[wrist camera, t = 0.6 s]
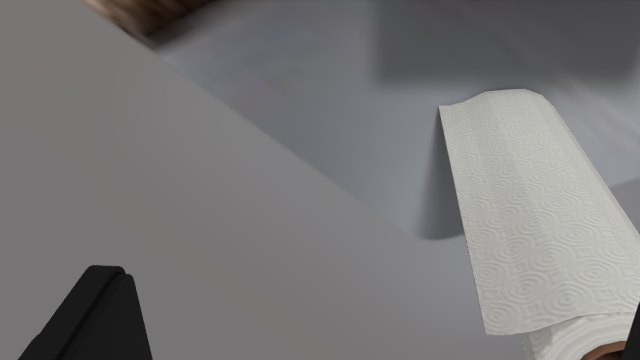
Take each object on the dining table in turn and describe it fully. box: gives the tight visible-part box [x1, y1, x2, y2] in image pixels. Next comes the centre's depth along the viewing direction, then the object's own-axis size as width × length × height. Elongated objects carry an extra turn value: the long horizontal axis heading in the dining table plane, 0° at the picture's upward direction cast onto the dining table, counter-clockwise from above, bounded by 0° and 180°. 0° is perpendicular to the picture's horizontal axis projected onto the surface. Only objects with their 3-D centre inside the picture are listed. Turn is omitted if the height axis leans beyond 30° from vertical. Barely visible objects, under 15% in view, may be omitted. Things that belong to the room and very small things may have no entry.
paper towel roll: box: [438, 89, 640, 360], centre depth 29 cm, size 7×6×21 cm
